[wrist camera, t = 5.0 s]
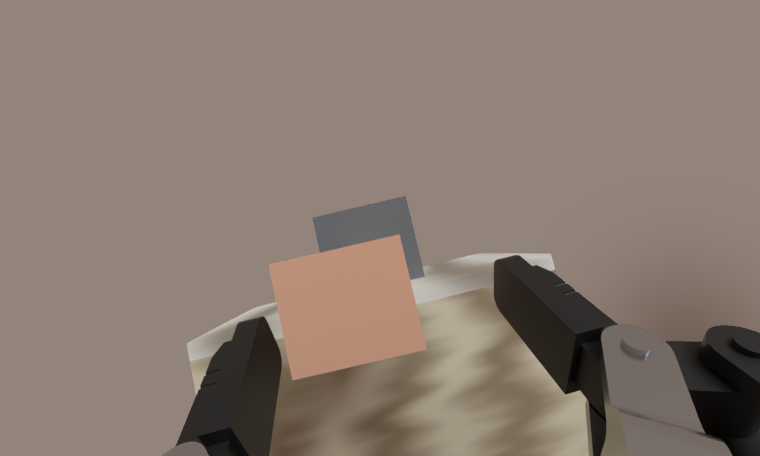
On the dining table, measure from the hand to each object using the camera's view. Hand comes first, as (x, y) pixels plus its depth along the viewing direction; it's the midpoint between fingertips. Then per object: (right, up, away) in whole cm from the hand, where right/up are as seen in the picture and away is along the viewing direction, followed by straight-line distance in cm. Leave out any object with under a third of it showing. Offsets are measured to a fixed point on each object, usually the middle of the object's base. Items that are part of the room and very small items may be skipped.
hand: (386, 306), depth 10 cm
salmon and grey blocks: (0, -1, +7) cm, 7 cm away
